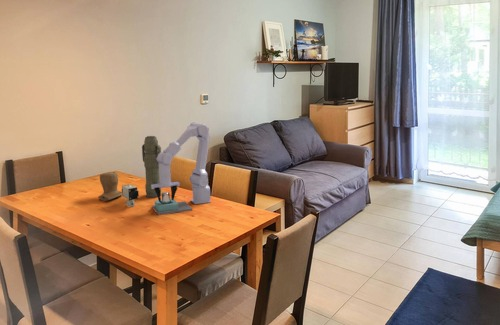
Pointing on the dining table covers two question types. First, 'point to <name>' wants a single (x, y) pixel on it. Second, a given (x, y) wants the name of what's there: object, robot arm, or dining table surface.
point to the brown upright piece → (109, 186)
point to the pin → (165, 198)
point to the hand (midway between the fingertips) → (166, 200)
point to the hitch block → (171, 207)
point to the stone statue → (151, 164)
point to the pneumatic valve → (130, 194)
